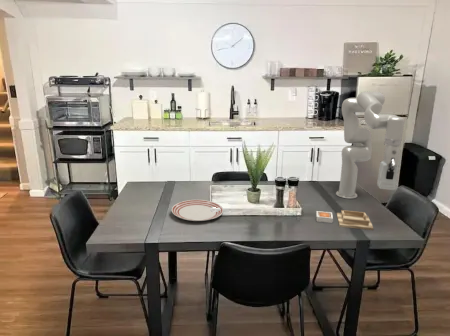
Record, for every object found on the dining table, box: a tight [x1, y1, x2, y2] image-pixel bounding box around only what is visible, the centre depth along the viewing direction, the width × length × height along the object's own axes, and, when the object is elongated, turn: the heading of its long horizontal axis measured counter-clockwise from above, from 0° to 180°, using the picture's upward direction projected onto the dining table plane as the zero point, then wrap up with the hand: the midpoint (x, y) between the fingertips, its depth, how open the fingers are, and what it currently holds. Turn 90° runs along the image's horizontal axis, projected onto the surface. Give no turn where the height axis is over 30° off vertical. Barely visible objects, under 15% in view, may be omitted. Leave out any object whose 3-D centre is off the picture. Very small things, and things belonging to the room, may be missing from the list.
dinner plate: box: [171, 199, 224, 222], centre depth 193 cm, size 28×27×3 cm
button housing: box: [315, 210, 334, 224], centre depth 190 cm, size 8×8×3 cm
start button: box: [320, 211, 329, 217], centre depth 190 cm, size 5×5×2 cm
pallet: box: [336, 209, 374, 231], centre depth 187 cm, size 16×16×4 cm
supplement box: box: [376, 160, 400, 191], centre depth 182 cm, size 7×7×13 cm
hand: (387, 176), depth 182 cm, fingers closed on supplement box, 7 cm apart
